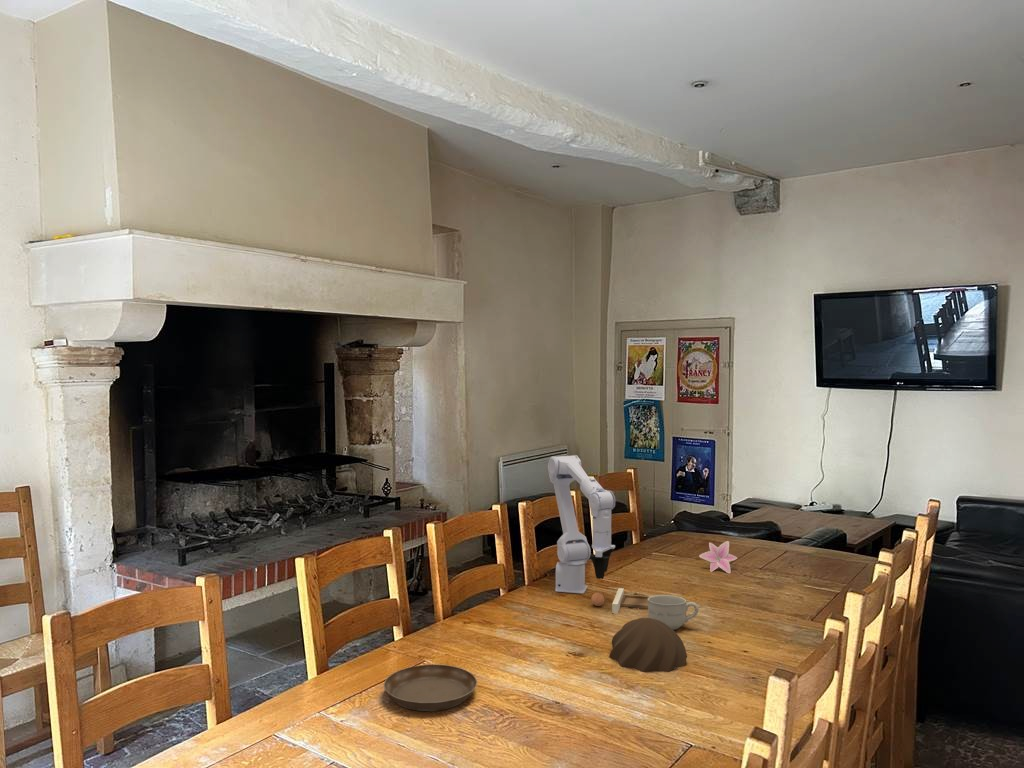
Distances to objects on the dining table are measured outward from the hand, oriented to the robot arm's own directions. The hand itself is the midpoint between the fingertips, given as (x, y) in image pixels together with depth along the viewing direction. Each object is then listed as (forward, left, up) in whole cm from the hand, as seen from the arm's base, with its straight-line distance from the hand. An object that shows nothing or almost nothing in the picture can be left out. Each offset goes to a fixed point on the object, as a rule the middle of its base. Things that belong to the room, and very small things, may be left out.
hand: (601, 574), depth 228 cm
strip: (+5, +1, -9) cm, 11 cm away
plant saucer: (-28, -72, -10) cm, 78 cm away
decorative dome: (+17, -37, -10) cm, 42 cm away
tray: (+11, +4, -9) cm, 15 cm away
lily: (+35, +51, -10) cm, 63 cm away
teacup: (+22, -14, -10) cm, 28 cm away
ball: (-1, -1, -7) cm, 8 cm away
